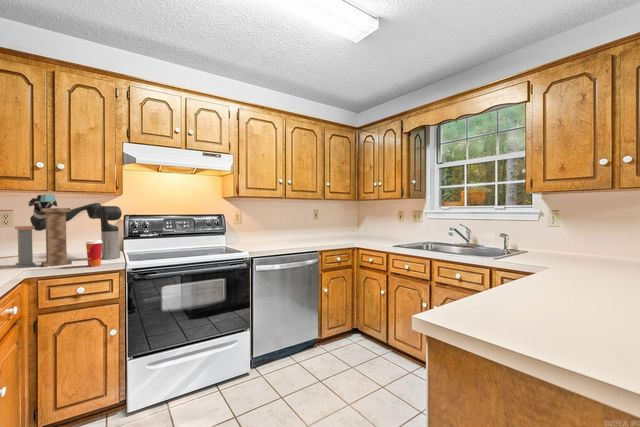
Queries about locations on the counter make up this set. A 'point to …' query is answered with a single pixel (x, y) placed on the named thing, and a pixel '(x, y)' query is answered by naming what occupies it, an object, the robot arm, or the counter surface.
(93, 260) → the paper cup
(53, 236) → the stand
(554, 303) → the counter surface
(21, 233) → the ledge
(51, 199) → the bar
